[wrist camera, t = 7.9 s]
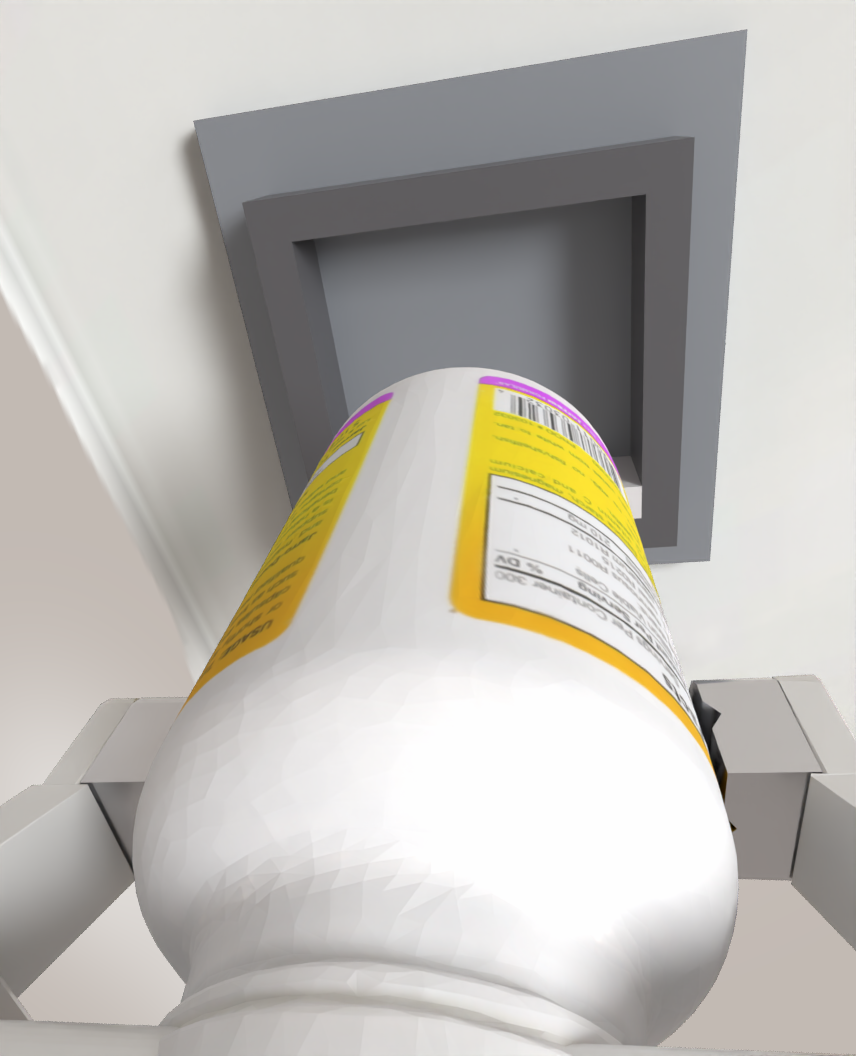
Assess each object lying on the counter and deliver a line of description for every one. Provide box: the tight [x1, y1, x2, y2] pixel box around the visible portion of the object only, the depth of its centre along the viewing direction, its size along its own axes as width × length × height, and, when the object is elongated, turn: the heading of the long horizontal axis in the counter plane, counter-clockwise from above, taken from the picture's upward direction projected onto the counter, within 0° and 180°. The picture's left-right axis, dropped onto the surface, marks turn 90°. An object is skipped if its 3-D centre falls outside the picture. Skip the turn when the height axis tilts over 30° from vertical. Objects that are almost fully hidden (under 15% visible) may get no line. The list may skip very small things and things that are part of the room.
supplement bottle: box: [132, 367, 739, 1056], centre depth 10 cm, size 7×7×13 cm
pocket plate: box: [193, 30, 747, 564], centre depth 24 cm, size 17×16×4 cm
